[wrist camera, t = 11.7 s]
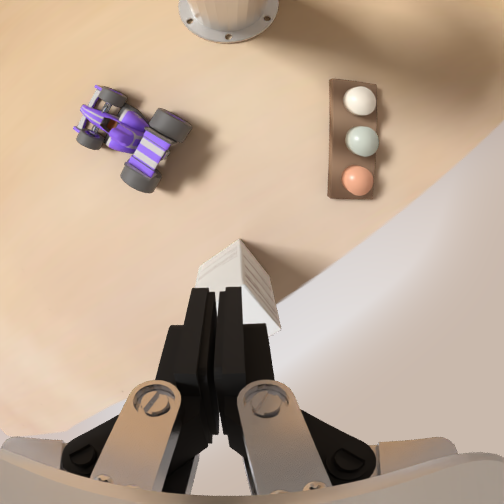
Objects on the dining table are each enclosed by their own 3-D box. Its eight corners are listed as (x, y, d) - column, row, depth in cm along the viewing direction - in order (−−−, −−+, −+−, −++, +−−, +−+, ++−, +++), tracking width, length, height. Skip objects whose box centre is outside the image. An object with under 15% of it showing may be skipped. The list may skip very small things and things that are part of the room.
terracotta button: (341, 164, 35) (347, 166, 33) (367, 165, 35) (374, 167, 33) (340, 191, 36) (345, 195, 35) (365, 192, 36) (372, 196, 35)
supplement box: (229, 301, 44) (228, 360, 33) (198, 265, 42) (185, 319, 30) (271, 275, 43) (283, 331, 31) (241, 236, 40) (243, 283, 29)
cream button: (342, 86, 31) (348, 84, 29) (369, 89, 31) (376, 88, 29) (343, 113, 32) (348, 113, 30) (369, 116, 32) (376, 116, 31)
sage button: (345, 124, 32) (351, 125, 30) (372, 127, 32) (379, 128, 30) (344, 153, 33) (350, 155, 32) (371, 155, 34) (378, 157, 32)
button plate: (329, 80, 32) (332, 78, 31) (371, 85, 32) (376, 84, 31) (327, 195, 38) (330, 198, 37) (367, 196, 39) (372, 199, 37)
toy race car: (104, 76, 30) (82, 69, 24) (195, 126, 34) (187, 126, 28) (72, 137, 33) (46, 141, 27) (157, 189, 37) (143, 201, 31)
